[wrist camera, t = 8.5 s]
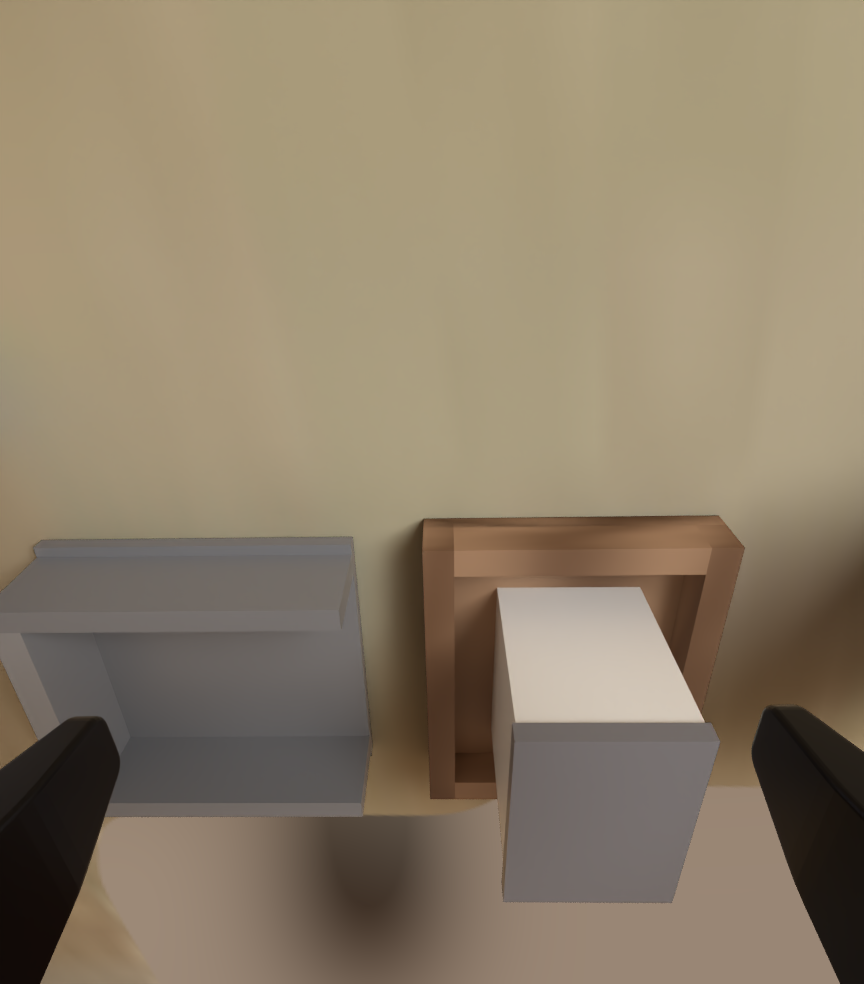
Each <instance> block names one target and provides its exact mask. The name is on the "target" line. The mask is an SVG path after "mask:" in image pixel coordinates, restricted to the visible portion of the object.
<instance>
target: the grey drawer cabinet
mask: <svg viewBox="0 0 864 984" xmlns="http://www.w3.org/2000/svg"><path fill="white" fill-rule="evenodd" d="M33 549H34V551H35V554H36V557H37V558H36V559H35V560H34V561H33V562H32V563H31V564H30V565H28V566H27V567H26V568H25V569H24V570H23V571H22V572H21V573H20V574H19V575H18V576H17V577H16V578H15V579H14V580H13V581H12V582H11V583H10V584H9V585H8V586H6V587H5V588H4V589H3V590H2V591H1V592H0V660H1V662H2V664H3V666H4V668H5V670H6V672H7V674H8V677H9V679H10V681H11V683H12V685H13V687H14V689H15V692H16V694H17V696H18V698H19V700H20V702H21V704H22V707H23V709H24V711H25V713H26V715H27V717H28V719H29V722H30V724H31V726H32V728H33V730H34V732H35V734H36V737H37V739H38V741H39V740H40V739H41V738H43V737H44V736H45V735H47V734H48V733H49V732H50V731H52V730H53V729H54V728H56V727H57V726H58V725H60V724H61V723H62V722H64V721H65V720H67V719H69V718H71V717H75V716H100V717H102V718H103V719H104V720H105V721H106V722H107V725H108V727H109V730H110V732H111V735H112V737H113V740H114V742H115V745H116V747H117V750H118V752H119V755H120V770H119V774H118V778H117V781H116V784H115V787H114V790H113V793H112V796H111V799H110V802H109V805H108V808H107V811H106V814H105V817H363V811H364V802H365V794H366V786H367V778H368V769H369V761H370V756H372V748H373V744H372V733H371V723H370V712H369V702H368V692H367V681H366V671H365V660H364V650H363V639H362V629H361V618H360V608H359V597H358V587H357V577H356V566H355V556H354V545H353V537H291V538H194V539H97V540H41V541H40V542H39V543H38V544H37V545H36V546H35V547H33Z"/></svg>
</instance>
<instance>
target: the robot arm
mask: <svg viewBox="0 0 864 984" xmlns="http://www.w3.org/2000/svg"><path fill="white" fill-rule="evenodd" d="M752 760H753V764H754V768H755V771H756V773H757V776H758V779H759V782H760V785H761V788H762V791H763V794H764V796H765V800H766V802H767V805H768V808H769V811H770V814H771V817H772V819H773V822H774V825H775V828H776V831H777V834H778V837H779V840H780V843H781V846H782V849H783V852H784V855H785V858H786V860H787V863H788V866H789V869H790V871H791V874H792V877H793V879H794V882H795V885H796V887H797V889H798V891H799V894H800V896H801V898H802V901H803V903H804V905H805V908H806V910H807V912H808V914H809V916H810V919H811V920H812V923H813V925H814V927H815V930H816V932H817V934H818V936H819V938H820V941H821V943H822V945H823V947H824V949H825V952H826V954H827V956H828V958H829V960H830V962H831V965H832V967H833V969H834V971H835V973H836V976H837V978H838V980H839V982H840V984H864V752H863V751H862V750H860V749H859V748H858V747H856V746H855V745H854V744H852V743H851V742H850V741H848V740H847V739H845V738H844V737H843V736H841V735H840V734H839V733H837V732H836V731H835V730H833V729H832V728H830V727H829V726H828V725H826V724H825V723H824V722H822V721H821V720H819V719H818V718H817V717H815V716H814V715H813V714H811V713H810V712H809V711H807V710H806V709H804V708H802V707H800V706H798V705H769V706H767V707H766V708H765V709H764V710H763V712H762V715H761V718H760V721H759V724H758V728H757V731H756V734H755V737H754V741H753V744H752ZM119 770H120V755H119V752H118V750H117V747H116V745H115V742H114V740H113V737H112V735H111V732H110V730H109V727H108V725H107V722H106V721H105V720H104V719H103V718H102V717H100V716H75V717H71V718H69V719H67V720H65V721H64V722H62V723H61V724H60V725H58V726H57V727H56V728H54V729H53V730H52V731H50V732H49V733H48V734H47V735H45V736H44V737H43V738H41V739H40V740H39V741H37V742H36V743H35V744H33V745H32V746H31V747H29V748H28V749H27V750H25V751H24V752H23V753H21V754H20V755H19V756H17V757H16V758H15V759H13V760H12V761H11V762H9V763H8V764H7V765H5V766H4V767H3V768H1V769H0V984H40V983H41V980H42V978H43V976H44V973H45V971H46V969H47V967H48V964H49V962H50V960H51V957H52V955H53V953H54V950H55V948H56V946H57V943H58V941H59V939H60V937H61V934H62V932H63V930H64V927H65V925H66V923H67V920H68V918H69V916H70V914H71V911H72V909H73V906H74V904H75V901H76V899H77V897H78V894H79V892H80V889H81V886H82V884H83V881H84V878H85V875H86V872H87V869H88V866H89V863H90V860H91V857H92V854H93V851H94V848H95V845H96V842H97V839H98V836H99V833H100V830H101V827H102V824H103V821H104V817H105V814H106V811H107V808H108V805H109V802H110V799H111V796H112V793H113V790H114V787H115V784H116V781H117V778H118V774H119Z"/></svg>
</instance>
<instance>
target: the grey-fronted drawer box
mask: <svg viewBox="0 0 864 984" xmlns="http://www.w3.org/2000/svg"><path fill="white" fill-rule="evenodd" d="M491 732H492V743H493V755H494V766H495V777H496V788H497V799H498V810H499V821H500V832H501V843H502V854H503V870H502V891H503V892H502V893H503V902H590V903H591V902H593V903H601V902H603V903H605V902H606V903H672V901H673V898H674V894H675V891H676V888H677V884H678V881H679V878H680V874H681V871H682V868H683V865H684V861H685V858H686V854H687V851H688V848H689V845H690V841H691V838H692V835H693V831H694V828H695V824H696V821H697V818H698V815H699V811H700V808H701V805H702V801H703V798H704V795H705V791H706V788H707V785H708V781H709V778H710V775H711V771H712V768H713V765H714V761H715V758H716V755H717V751H718V748H719V745H720V740H719V738H718V736H717V734H716V732H715V730H714V728H713V726H712V724H711V723H705V721H704V719H703V717H702V715H701V713H700V711H699V709H698V707H697V705H696V703H695V701H694V698H693V696H692V694H691V692H690V690H689V688H688V686H687V684H686V682H685V680H684V678H683V676H682V673H681V671H680V669H679V667H678V665H677V663H676V661H675V659H674V657H673V655H672V653H671V651H670V648H669V646H668V644H667V642H666V640H665V638H664V636H663V634H662V632H661V630H660V628H659V626H658V623H657V621H656V619H655V617H654V615H653V613H652V611H651V609H650V607H649V605H648V603H647V601H646V598H645V596H644V594H643V592H642V590H641V588H640V587H539V588H497V602H496V625H495V648H494V671H493V694H492V717H491Z"/></svg>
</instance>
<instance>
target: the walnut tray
mask: <svg viewBox="0 0 864 984" xmlns="http://www.w3.org/2000/svg"><path fill="white" fill-rule="evenodd" d="M744 549H745V548H744V546H743V545H742V544H741V543H740V541H739V540H738V539H737V538H736V536H735V535H734V534H733V533H732V531H731V530H730V529H729V528H728V526H727V525H726V524H725V523H724V522H723V520H722V519H721V518H720V517H719V516H631V517H539V518H447V519H424V525H423V546H422V559H423V589H424V620H425V650H426V680H427V710H428V741H429V771H430V799H497V788H496V777H495V766H494V755H493V743H492V732H491V717H492V694H493V671H494V648H495V625H496V602H497V588H539V587H640V588H641V590H642V592H643V594H644V596H645V598H646V601H647V603H648V605H649V607H650V609H651V611H652V613H653V615H654V617H655V619H656V621H657V623H658V626H659V628H660V630H661V632H662V634H663V636H664V638H665V640H666V642H667V644H668V646H669V648H670V651H671V653H672V655H673V657H674V659H675V661H676V663H677V665H678V667H679V669H680V671H681V673H682V676H683V678H684V680H685V682H686V684H687V686H688V688H689V690H690V692H691V694H692V696H693V698H694V701H695V703H696V705H697V707H698V709H699V711H700V713H702V709H703V705H704V701H705V698H706V694H707V690H708V686H709V682H710V678H711V675H712V671H713V667H714V663H715V659H716V656H717V652H718V648H719V644H720V640H721V637H722V633H723V629H724V625H725V621H726V618H727V614H728V610H729V606H730V602H731V599H732V595H733V591H734V587H735V583H736V580H737V576H738V572H739V568H740V564H741V561H742V557H743V553H744Z"/></svg>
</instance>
